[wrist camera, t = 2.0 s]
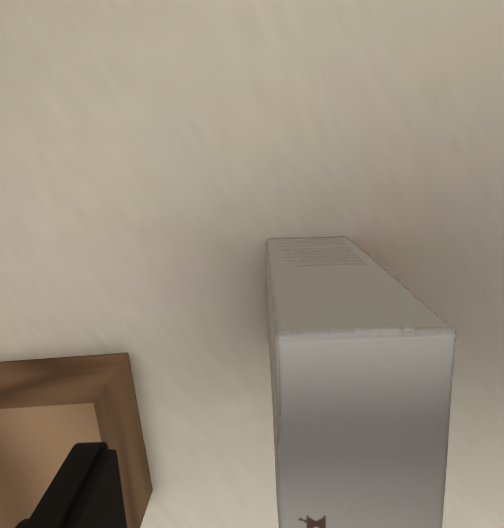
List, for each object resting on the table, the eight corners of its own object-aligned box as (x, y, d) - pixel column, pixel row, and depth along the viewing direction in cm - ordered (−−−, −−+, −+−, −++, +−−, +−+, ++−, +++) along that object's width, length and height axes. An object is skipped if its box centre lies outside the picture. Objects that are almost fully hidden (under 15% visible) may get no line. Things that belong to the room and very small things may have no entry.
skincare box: (348, 344, 22) (445, 553, 10) (268, 346, 22) (275, 555, 11) (350, 231, 20) (465, 329, 9) (264, 235, 21) (267, 335, 9)
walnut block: (129, 350, 23) (93, 403, 18) (153, 486, 25) (127, 565, 20) (-29, 361, 23) (-106, 415, 18) (9, 494, 25) (-51, 574, 21)
